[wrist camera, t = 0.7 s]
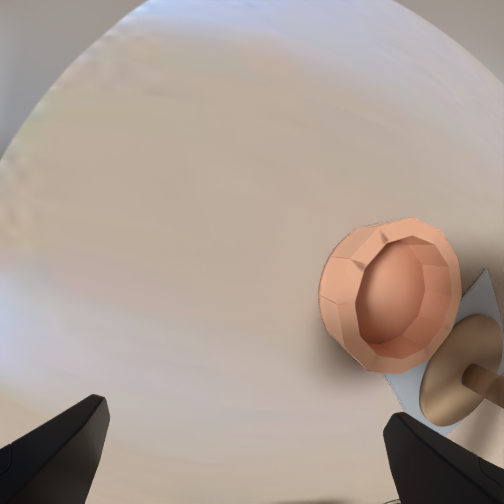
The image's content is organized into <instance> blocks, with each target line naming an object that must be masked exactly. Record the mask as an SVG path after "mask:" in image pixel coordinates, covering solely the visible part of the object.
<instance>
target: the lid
mask: <svg viewBox="0 0 504 504" xmlns="http://www.w3.org/2000/svg"><path fill="white" fill-rule="evenodd" d="M502 353H503V336H502V331H501V328H500V326H499V324H498V323H497V321H496V320H495V319H493V318H492V317H489V316H486V315H482V314H473V315H469V316H467V317H465V318H463V319H462V320H460V321H459V322H458V323H456V324H455V325H454V326H453V328H452V330H451V332H450V334H449V335H448V336H447V338H446V339H445V340H444V342H443V343H442V344H441V345H440V347H439V348H438V349H437V351H436V352H435V353H434V354H433V356H432V357H431V358H430V360H429V362H428V364H427V366H426V369H425V371H424V374H423V377H422V381H421V385H420V390H419V406H420V410H421V412H422V414H423V416H424V417H425V418H426V419H427V420H429V421H430V422H431V423H432V424H433V425H436V426H439V427H446V426H450V425H453V424H455V423H457V422H459V421H461V420H462V419H464V418H465V417H466V416H468V415H469V414H470V413H471V412H472V411H473V410H474V409H475V408H476V407H477V406H478V405H479V404H480V403H481V401H482V400H483V399H484V398H486V399H488V400H490V401H491V402H493V403H495V404H497V405H498V406H500V407H502V408H504V377H502V376H500V375H498V374H497V373H498V370H499V367H500V363H501V359H502Z"/></svg>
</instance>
